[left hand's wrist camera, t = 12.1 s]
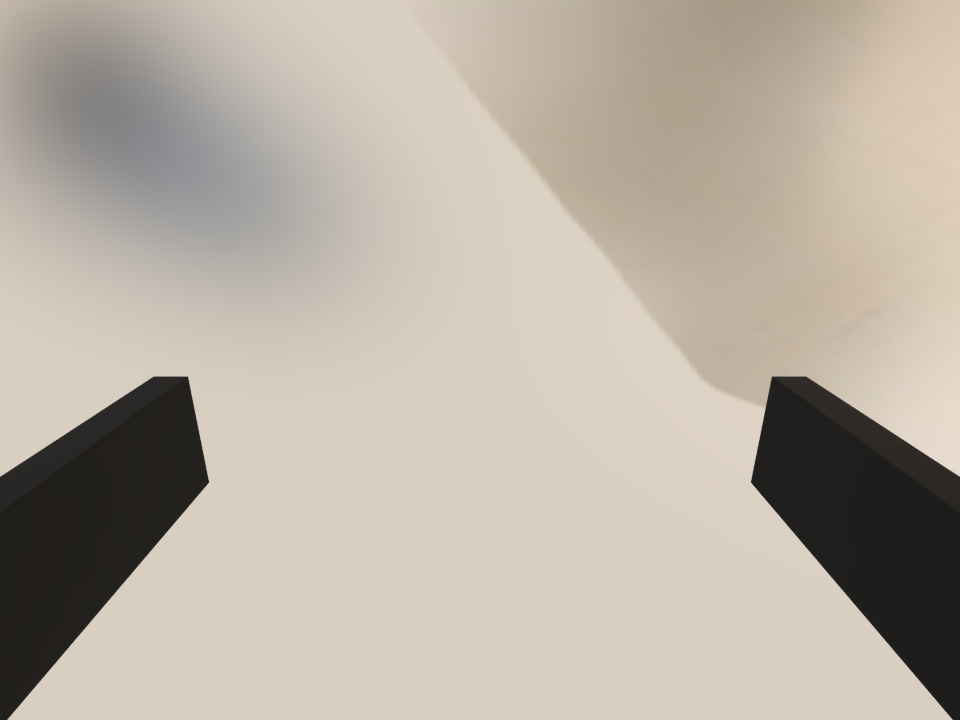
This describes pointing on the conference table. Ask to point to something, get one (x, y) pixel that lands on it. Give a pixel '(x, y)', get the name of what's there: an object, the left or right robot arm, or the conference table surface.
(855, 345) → the conference table surface
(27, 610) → the left robot arm
